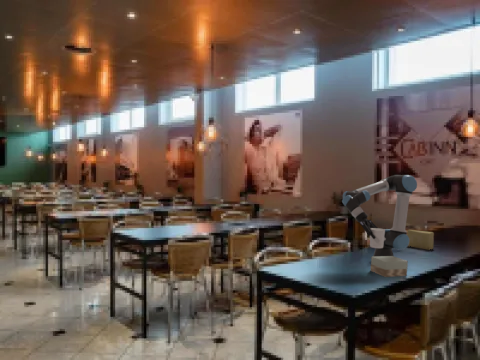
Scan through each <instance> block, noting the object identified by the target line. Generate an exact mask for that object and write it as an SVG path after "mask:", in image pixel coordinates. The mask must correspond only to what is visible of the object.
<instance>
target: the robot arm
mask: <svg viewBox="0 0 480 360" xmlns="http://www.w3.org/2000/svg"><path fill="white" fill-rule="evenodd" d="M417 188H418V182H417V179H416V178H415V177H414V176H413V175H411V174H410V175H409V174H402V175H401V174H394V175H391V176H387V177H385V178H382V179H381V180H380V181H378V182H375V183H371V184H369V185H365V186H362V187H358V188H357V189H354V190H350V191H349V190H348V191H344V192H343V194H342V200H341V202H342V204H343V206H344V207H345V208H346V209H347V210H348V211H349V213H350V214H351V216H352V217H354V219H355V220H356V221H357V222H358V223H359V224H360V226H361V227H362V228H363V230H364V232H365V234H366V235H368V237H370V235H371V237H372V238H373V239H374V241H375V242H376V243H379V242H380V240H379V239H378V237H377V236H376V235H375V234H374V233H373V232H372V230H371V228H379V227H378V226H377V225H376V224H375V222H373V221H372V219H368V218H367V217H368V214H367V213H366V212H365V211H364V210H363V208H362V207H361V205H363V204H365V203H366V202H368V201H369V200H370V199H371V196H373V195H376V194H379V193H381V192H389V191H395V194H396V198H395V199H396V200H395V206H394V207H395V209H394V214H393V223H392V227H391V228H389V229H388V228H386V229H385V228H384V229H385V235H384V245H383V248H374V252H373V256H372V257H377V256H394V253H393V252H394V251H393V249H395V250H399V251H401V250H406V248H407V247H409V246H408V244H409V238H408V236H407V232H408V230H406V225H407V218H408V212H409V211H408V210H409V202H410V197H411V196H412V195H413V193H414V191H416V190H417ZM394 257H395V256H394Z"/></svg>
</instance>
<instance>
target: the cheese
mask: <svg viewBox="0 0 480 360" xmlns="http://www.w3.org/2000/svg"><path fill="white" fill-rule="evenodd" d="M407 236H408V238H409V244H408V246H407V247H410V246H411V247H410V248H412V247H413V248H417V249H423V250H426V251H427V250H428V251H429V250H430V249H431V250H433V249H434V238H435V237H434V236H435V233H434V232H433V231H422V230H415V229H407Z"/></svg>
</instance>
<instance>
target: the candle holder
mask: <svg viewBox="0 0 480 360" xmlns="http://www.w3.org/2000/svg"><path fill="white" fill-rule="evenodd" d="M371 230H372V232H373V233H374V234H375V235H376V236H377V237H378V239H379V240H380V242H379V243H376V242H375V241H374V239H373V238H372V237H371V235H370V236H369V247H370V248H373V249H376V248H383V245H384V235H385V228H379V227H378V228H371Z"/></svg>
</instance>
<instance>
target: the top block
mask: <svg viewBox="0 0 480 360" xmlns="http://www.w3.org/2000/svg"><path fill="white" fill-rule="evenodd" d="M370 258H371V261H370V262H371V264H372V265H375V266H377V267H380V268H382V269H385V270H392V269H407V270H408V267H409V265H408V263H409V262H408V260H406V259H403V258H400V257H397V256H377V257H373V256H371V257H370ZM371 264H370V265H371Z"/></svg>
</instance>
